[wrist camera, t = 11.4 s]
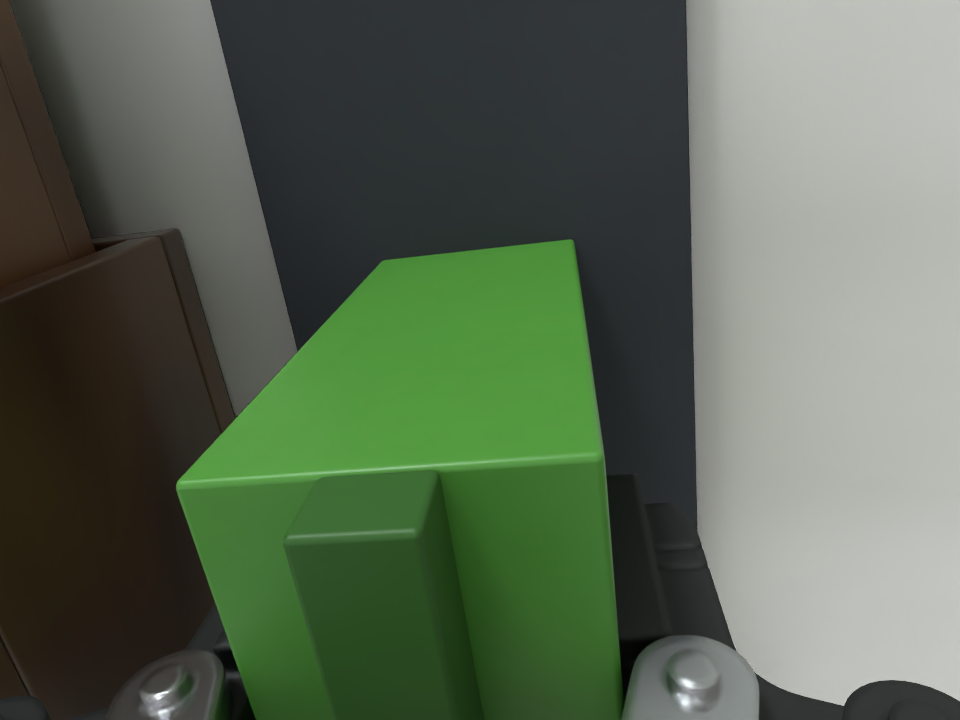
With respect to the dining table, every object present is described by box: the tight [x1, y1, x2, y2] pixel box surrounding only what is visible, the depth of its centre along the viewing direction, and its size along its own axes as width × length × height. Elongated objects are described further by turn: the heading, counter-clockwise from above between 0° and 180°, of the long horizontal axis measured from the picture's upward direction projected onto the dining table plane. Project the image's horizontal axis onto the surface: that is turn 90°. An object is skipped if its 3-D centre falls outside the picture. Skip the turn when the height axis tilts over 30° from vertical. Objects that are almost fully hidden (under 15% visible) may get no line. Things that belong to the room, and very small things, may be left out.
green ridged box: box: [176, 239, 624, 720], centre depth 11 cm, size 8×4×10 cm, turn 8°
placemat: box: [210, 0, 697, 529], centre depth 16 cm, size 22×9×1 cm, turn 8°
